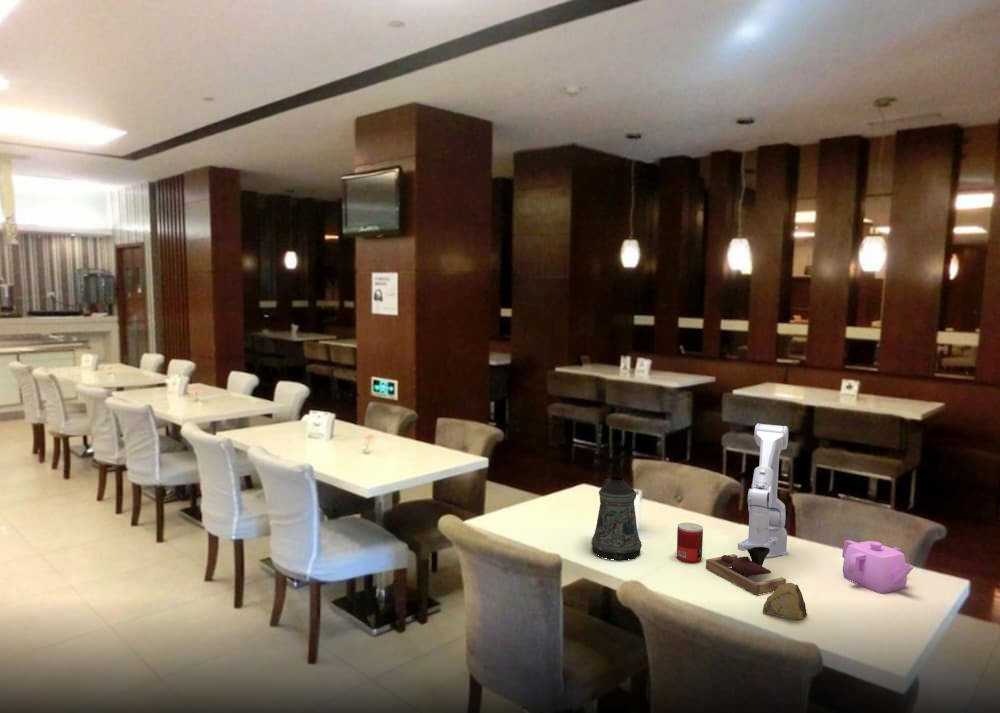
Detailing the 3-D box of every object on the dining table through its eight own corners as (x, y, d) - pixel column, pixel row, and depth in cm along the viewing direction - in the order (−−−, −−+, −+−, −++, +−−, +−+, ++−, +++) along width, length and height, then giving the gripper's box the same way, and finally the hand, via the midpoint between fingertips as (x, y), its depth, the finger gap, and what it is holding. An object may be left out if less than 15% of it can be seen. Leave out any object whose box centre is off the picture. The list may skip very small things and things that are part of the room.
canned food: (702, 564, 216) (704, 531, 215) (677, 562, 218) (678, 529, 217) (700, 555, 224) (701, 523, 223) (675, 553, 226) (676, 521, 225)
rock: (754, 607, 182) (790, 615, 175) (760, 576, 186) (797, 582, 178) (771, 621, 188) (807, 629, 180) (777, 591, 191) (812, 597, 184)
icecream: (775, 559, 205) (725, 552, 214) (767, 560, 199) (717, 552, 208) (774, 583, 203) (724, 574, 213) (767, 585, 198) (716, 576, 207)
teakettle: (839, 567, 215) (841, 530, 214) (900, 576, 209) (902, 537, 208) (846, 589, 199) (848, 548, 198) (912, 598, 193) (915, 557, 192)
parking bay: (733, 563, 218) (734, 554, 217) (785, 588, 199) (786, 579, 198) (705, 568, 213) (706, 559, 213) (755, 595, 194) (756, 585, 194)
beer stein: (620, 565, 215) (621, 489, 213) (574, 548, 230) (576, 476, 227) (651, 553, 226) (653, 479, 224) (606, 537, 240) (607, 468, 238)
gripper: (750, 534, 200) (748, 578, 201) (786, 527, 206) (784, 570, 207) (733, 526, 206) (731, 569, 208) (768, 520, 212) (767, 562, 213)
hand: (756, 569), depth 208 cm, fingers closed
